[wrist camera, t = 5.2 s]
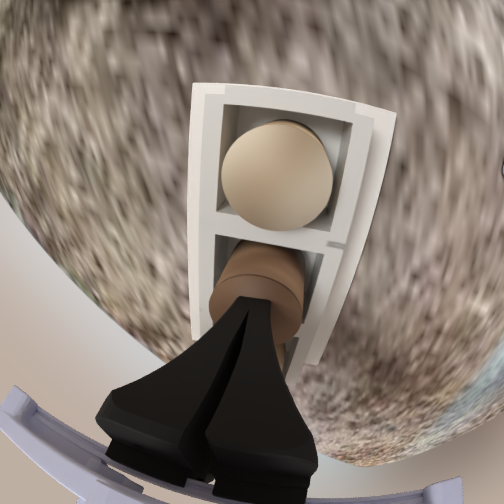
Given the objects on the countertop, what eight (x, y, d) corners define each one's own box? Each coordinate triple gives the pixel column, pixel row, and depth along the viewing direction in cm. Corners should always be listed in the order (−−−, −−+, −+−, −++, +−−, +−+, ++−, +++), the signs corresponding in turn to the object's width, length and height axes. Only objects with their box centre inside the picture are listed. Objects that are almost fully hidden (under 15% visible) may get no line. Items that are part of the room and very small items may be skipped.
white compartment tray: (392, 112, 11) (416, 116, 8) (317, 357, 21) (315, 393, 18) (198, 83, 13) (168, 80, 10) (195, 332, 22) (180, 365, 19)
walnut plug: (312, 239, 14) (311, 287, 10) (297, 300, 16) (291, 353, 12) (233, 225, 14) (209, 267, 11) (229, 286, 16) (208, 336, 13)
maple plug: (332, 127, 12) (342, 136, 8) (318, 204, 14) (320, 239, 11) (248, 114, 12) (225, 118, 9) (241, 190, 14) (218, 221, 11)
